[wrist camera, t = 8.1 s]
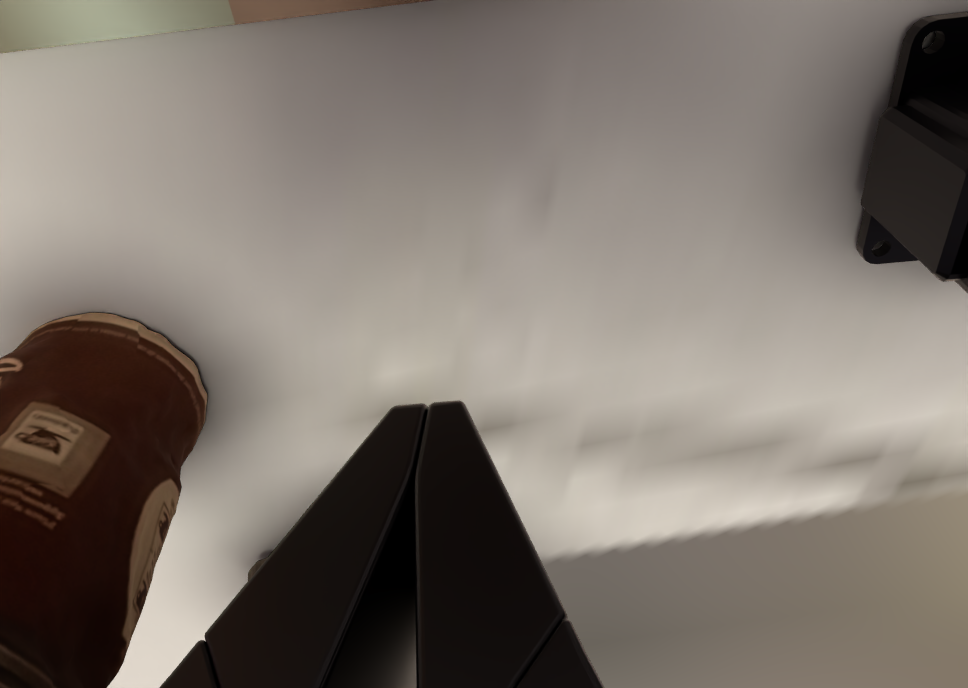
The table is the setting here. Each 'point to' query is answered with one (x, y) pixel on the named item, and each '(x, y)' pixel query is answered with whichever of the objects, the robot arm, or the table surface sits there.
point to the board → (145, 17)
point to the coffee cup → (86, 491)
